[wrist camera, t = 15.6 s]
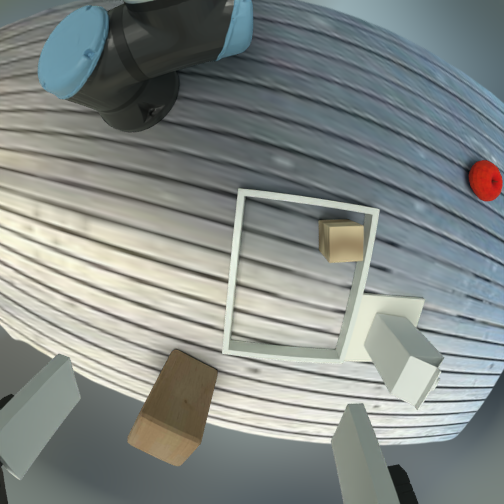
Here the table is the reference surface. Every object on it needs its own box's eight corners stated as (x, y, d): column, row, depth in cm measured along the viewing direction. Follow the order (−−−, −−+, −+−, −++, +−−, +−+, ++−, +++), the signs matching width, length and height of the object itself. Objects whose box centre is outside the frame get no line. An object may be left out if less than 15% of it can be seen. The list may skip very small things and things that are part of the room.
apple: (456, 188, 43) (479, 190, 35) (465, 153, 41) (488, 150, 34) (480, 206, 43) (503, 210, 36) (488, 171, 41) (511, 172, 34)
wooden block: (220, 369, 53) (202, 445, 33) (200, 398, 55) (179, 469, 35) (174, 345, 52) (138, 415, 32) (158, 377, 54) (124, 443, 34)
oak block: (318, 220, 45) (329, 226, 38) (347, 219, 45) (363, 225, 37) (319, 250, 46) (329, 262, 39) (347, 248, 46) (362, 260, 38)
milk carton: (363, 345, 49) (398, 411, 31) (376, 312, 47) (422, 371, 29) (393, 348, 49) (434, 409, 31) (406, 317, 47) (457, 371, 29)
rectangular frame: (240, 188, 45) (238, 188, 41) (371, 207, 44) (379, 209, 41) (224, 343, 51) (222, 353, 48) (339, 353, 51) (343, 364, 47)
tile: (360, 292, 48) (362, 294, 47) (422, 297, 48) (425, 299, 47) (342, 358, 51) (343, 361, 50) (401, 358, 51) (403, 361, 50)
